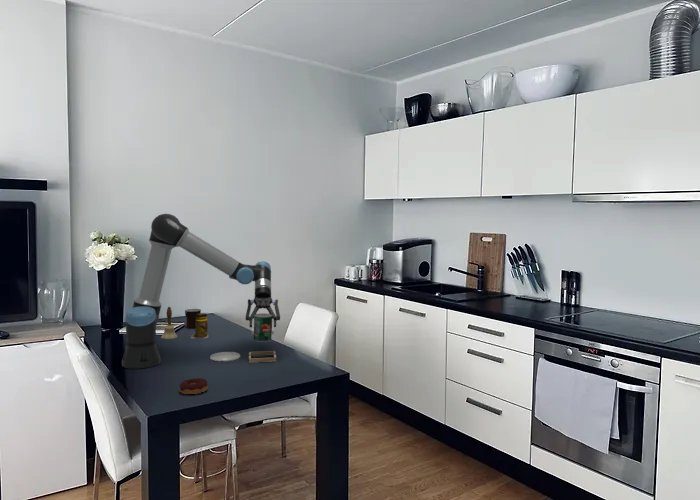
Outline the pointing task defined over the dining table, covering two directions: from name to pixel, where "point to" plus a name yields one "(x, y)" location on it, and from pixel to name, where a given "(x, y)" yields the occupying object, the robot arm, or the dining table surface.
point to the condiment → (201, 326)
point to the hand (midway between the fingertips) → (262, 332)
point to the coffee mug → (191, 317)
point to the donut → (193, 386)
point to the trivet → (225, 356)
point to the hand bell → (169, 327)
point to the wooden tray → (259, 353)
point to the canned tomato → (262, 327)
